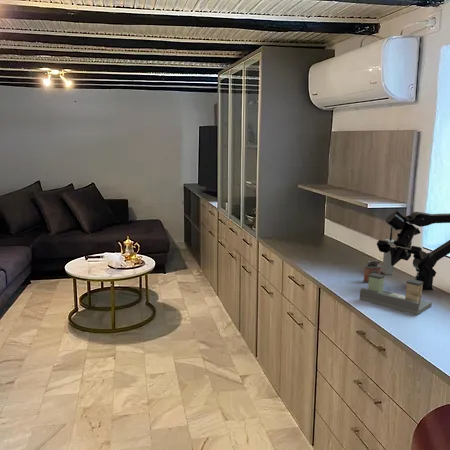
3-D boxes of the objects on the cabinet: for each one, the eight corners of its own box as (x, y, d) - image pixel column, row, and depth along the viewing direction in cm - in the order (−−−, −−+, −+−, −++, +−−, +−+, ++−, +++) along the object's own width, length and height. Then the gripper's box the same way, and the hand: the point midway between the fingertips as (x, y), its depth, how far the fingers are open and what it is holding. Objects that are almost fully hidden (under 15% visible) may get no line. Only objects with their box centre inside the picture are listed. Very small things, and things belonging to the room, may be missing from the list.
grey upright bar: (388, 272, 231) (393, 222, 226) (392, 274, 226) (397, 224, 221) (381, 271, 231) (386, 222, 226) (384, 274, 226) (389, 224, 221)
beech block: (408, 300, 183) (411, 279, 181) (420, 303, 180) (423, 281, 178) (404, 303, 180) (406, 281, 178) (416, 306, 177) (419, 283, 175)
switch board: (376, 291, 198) (377, 281, 197) (431, 306, 183) (432, 295, 182) (359, 299, 187) (360, 289, 186) (416, 315, 172) (418, 303, 171)
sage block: (371, 293, 190) (373, 272, 188) (382, 296, 187) (384, 275, 185) (366, 295, 187) (368, 274, 185) (378, 298, 184) (380, 277, 182)
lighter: (365, 283, 210) (367, 261, 209) (361, 281, 213) (363, 260, 212) (381, 282, 212) (383, 261, 211) (377, 280, 216) (379, 259, 214)
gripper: (430, 251, 200) (418, 280, 194) (389, 243, 213) (375, 271, 207) (426, 235, 193) (412, 265, 187) (383, 228, 206) (369, 256, 200)
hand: (392, 265), depth 195 cm, fingers closed
